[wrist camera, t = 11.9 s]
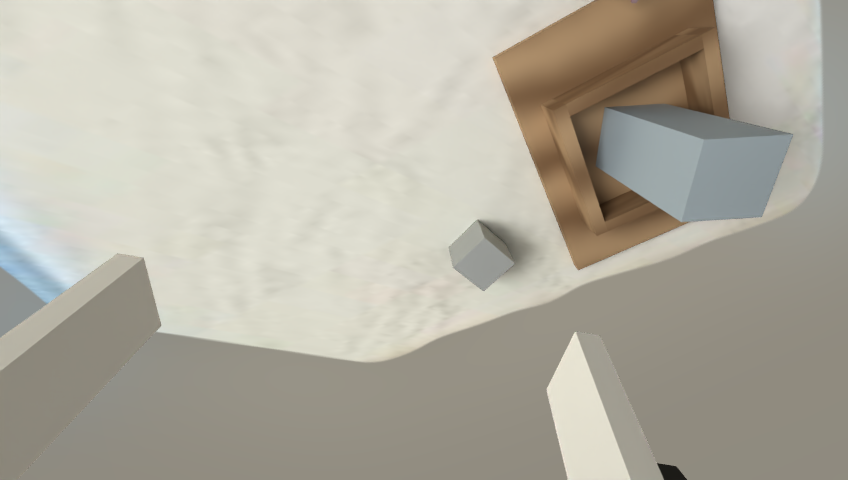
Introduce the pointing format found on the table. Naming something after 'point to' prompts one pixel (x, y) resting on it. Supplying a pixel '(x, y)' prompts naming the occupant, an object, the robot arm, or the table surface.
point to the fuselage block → (691, 160)
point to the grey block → (480, 256)
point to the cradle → (608, 87)
